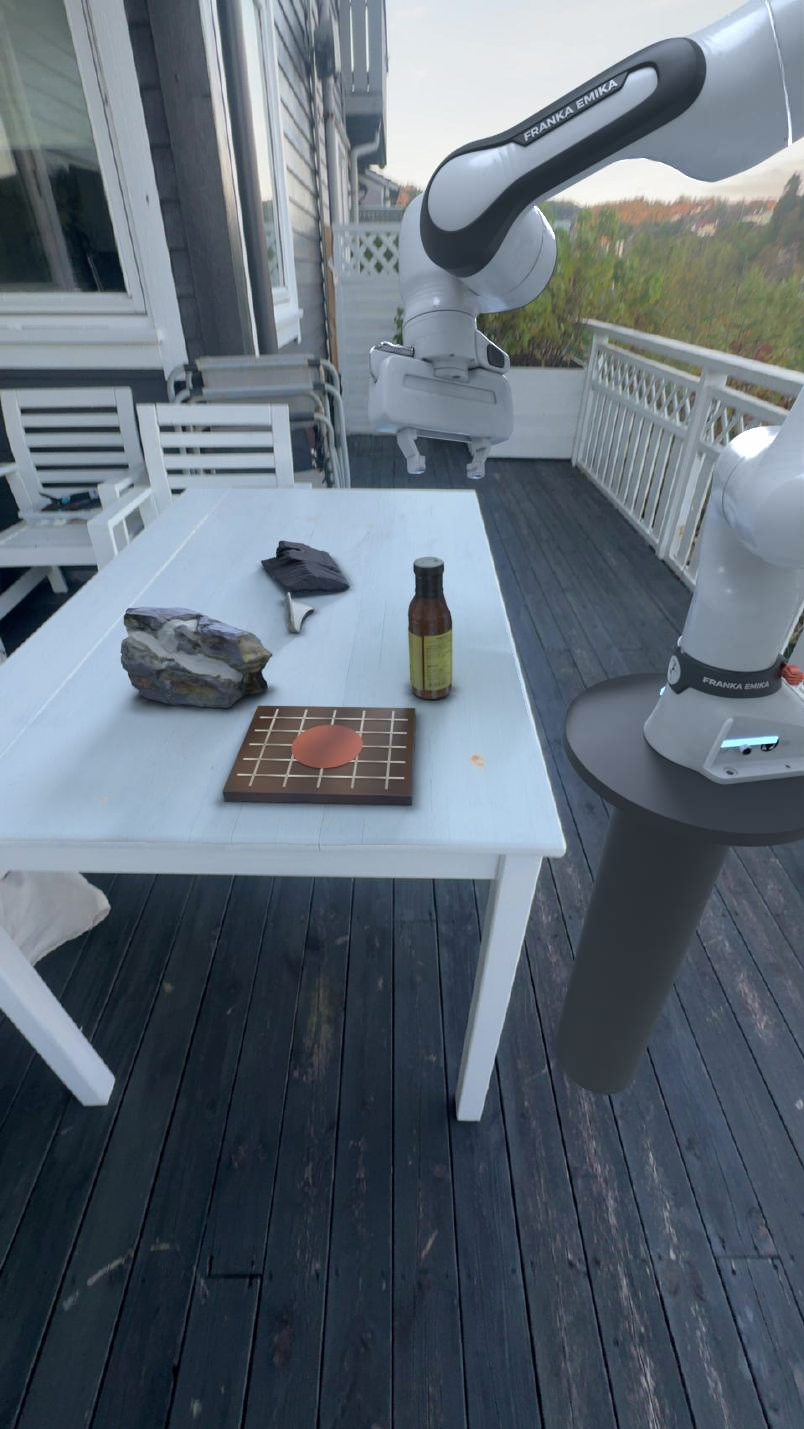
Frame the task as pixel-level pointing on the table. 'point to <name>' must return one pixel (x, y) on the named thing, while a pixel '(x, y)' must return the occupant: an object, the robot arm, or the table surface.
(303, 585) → the dark slate chunk
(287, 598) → the ceramic fragment
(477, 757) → the table surface
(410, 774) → the grid board
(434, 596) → the sauce bottle
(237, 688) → the fossil rock
